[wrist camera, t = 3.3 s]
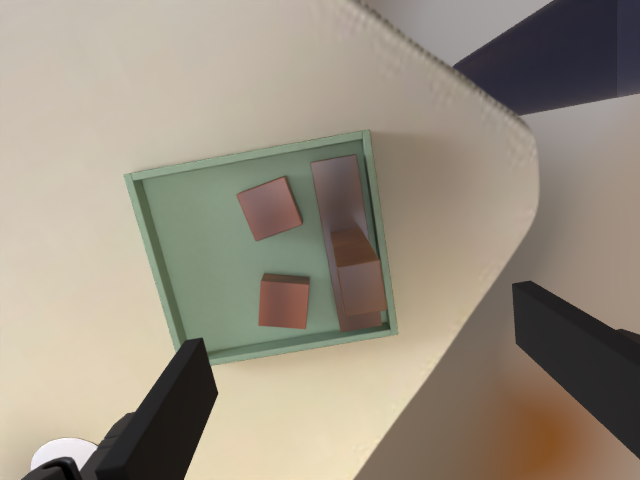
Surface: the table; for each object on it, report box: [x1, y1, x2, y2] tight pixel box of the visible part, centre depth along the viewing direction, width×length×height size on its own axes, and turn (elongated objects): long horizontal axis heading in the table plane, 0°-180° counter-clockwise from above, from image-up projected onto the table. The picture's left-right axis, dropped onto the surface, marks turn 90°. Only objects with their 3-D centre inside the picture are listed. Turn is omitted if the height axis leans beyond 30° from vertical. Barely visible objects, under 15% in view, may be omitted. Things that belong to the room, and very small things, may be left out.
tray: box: [124, 130, 398, 366], centre depth 31 cm, size 19×17×2 cm
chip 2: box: [258, 273, 310, 329], centre depth 31 cm, size 4×4×2 cm
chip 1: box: [236, 175, 303, 241], centre depth 30 cm, size 4×4×2 cm
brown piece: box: [310, 154, 387, 332], centre depth 26 cm, size 4×14×12 cm, turn 10°
